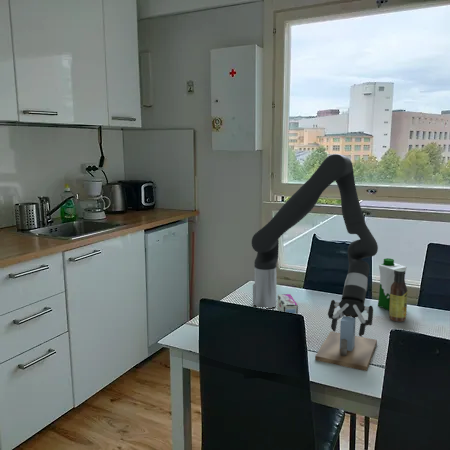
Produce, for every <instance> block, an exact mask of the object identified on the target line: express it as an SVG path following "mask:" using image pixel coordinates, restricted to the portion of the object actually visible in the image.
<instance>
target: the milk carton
mask: <svg viewBox="0 0 450 450" xmlns="http://www.w3.org/2000/svg"><path fill="white" fill-rule="evenodd" d="M378 268H379V294H378V299H377V300H378V302H377V306H378V307H380V308H382V309H384V310H387V311H389V307H390V291H391V285H392V284H393V282H394V270H395V269H403V270H405V272H406V271H407V266H405V265H402V264H399V263H395V260H394V259H393V258H384V259H383V263H381V264H378Z"/></svg>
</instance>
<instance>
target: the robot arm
mask: <svg viewBox="0 0 450 450" xmlns="http://www.w3.org/2000/svg"><path fill="white" fill-rule="evenodd" d="M353 165H354V164H353V162H352V160H351V159H350V158H349V157H348V156H346V155H344V154H340V153H333V154H330V155H328V156H327V157H326V158H324V160H323V161H322V163H321V164H320V165H319V166H318V168H317V169H316V170H315V172H314V173H313V174H312V175H311V176H310V177H309V179H308V180H307V181H305V182H304V183H303V184H302V185H301V186H300V187H299V188H298V189H297V190H296V191H295V192H294V193H293V194H292V195H291V196H290V198H288V199H287V200H286V202H285V203H284V204H283V205H282V206H281V207H280V208H279V210H278V211H277V212H276V214H275V215H274V216H273V217H272V218H271V220H270V221H268V223H267V224H265V225H264V226H263V227H261V228H260V229H259V230H258V231H256V232H255V234H253V236H252V239H251V247H252V249H253V250H254V252H257V254H256V257H255V259H254V261H253V262H254V264H253V265H254V283H253V284H252V305H253V304H254V305H256V306H258V307H262V308H263V307H265V308H266V307H268V308H271V307H274V306H276V307H277V266H278V265H277V263H278V259H279V246H280V245H279V239H280V238H281V237H282V236H283V235H284V234H285V233H286V232H287V231H289V230H290V229H292V228H293V227H294V226H295V225H296V224H298V223H300V221H302V220H303V219H304V218H305V217H306V216H307V215H308V214H309V213H310V212H311V211H312V210H313V209H314V208H315V206H316V204H317V203H318V201H319V199H320V197H321V196H322V194H323V193H324V191H325V190H326V189H327V188H329V186H331V184H333V183H334V182H335V183H336V185H337V187H338V191H339V194H340V205H341V214H342V217H343V221H344V225H345V228H346V231H347V234H350V235H357V236H358V238H359V239H357V240H353V241H352V242H350V243H349V245H348V247H347V259H348V269H347V270H348V271H347V275H346V278H345V281H344V286H343V290H342V295H341V299H340V302H338V301H335V300H334V299H332V300H331V301H330V304H329V307H328V310H327V311H328V312H327V316H328V319H330V320H331V325H330V328H331V330H332V332H336V330H337V327H338V320H341V319H342V317H343V316H346V317H352V318H358V319H357V320H359V322H360V323H359V324H360V326H359V329H358V330H359V331H358V335H359V336H358V337H363V336H364V335H365V332H366V327H367V326H372V325H373V317H374V307H373V305H369V306H365V301H366V297H367V296H366V295H367V292H368V283H369V282H368V281H369V280H368V279H369V273H370V265H369V263H368V261H365V260H363V259H367V258H371V257H374V256H375V255H377V253H378V251H379V245H378V242H377V240H376V238H375V237H374V235H373V233H372V232H371V229H369V227H368V226H367V223H366V220H365V216H364V213H363V210H362V207H361V204H360V200H359V196H358V191H357V187H356V182H355V174H354V167H353ZM338 307H339V309H338V310H337V311H336V313H334V312H335V309H337V308H338ZM364 311H366V313H367V319H365V318H364V317H363V314H362V313H364Z"/></svg>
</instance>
